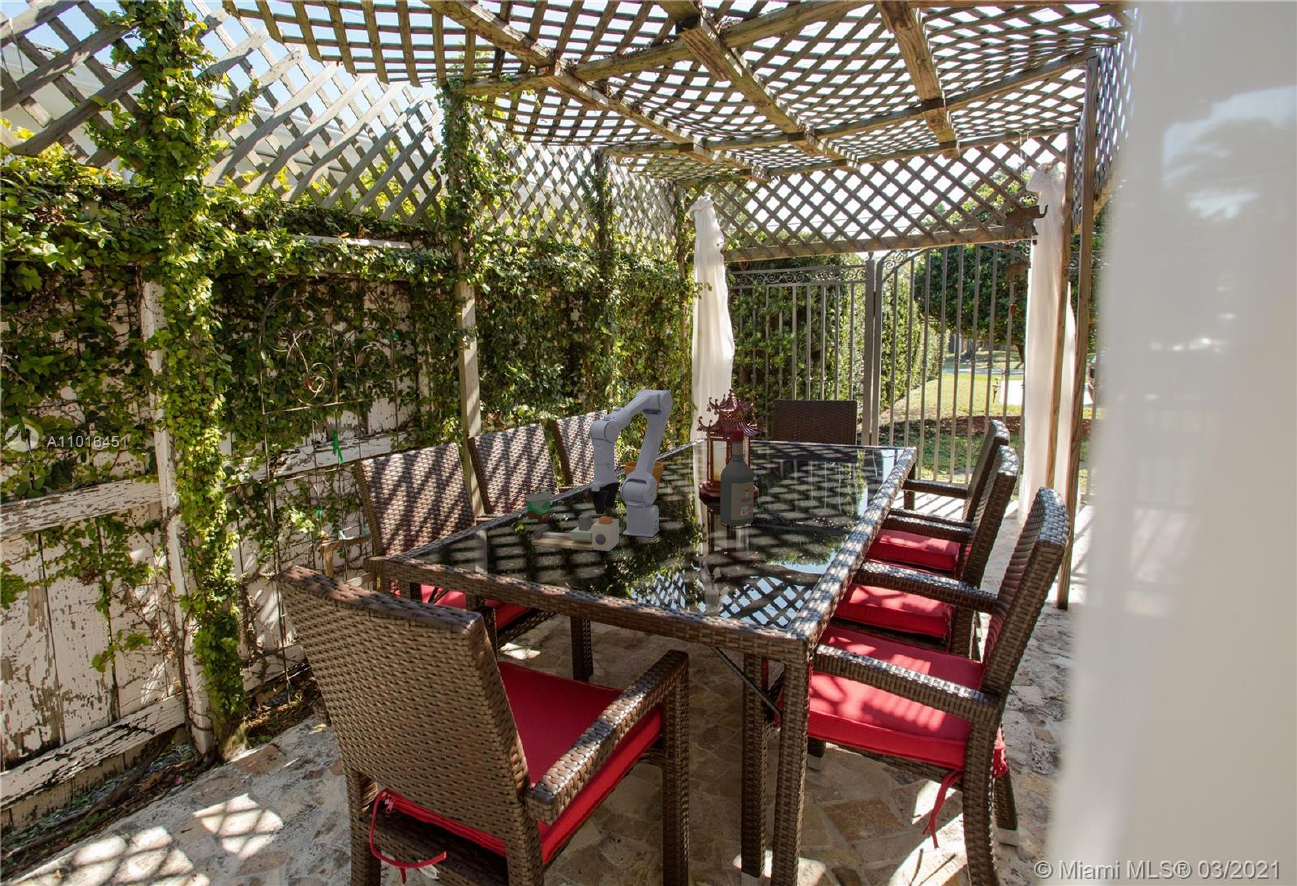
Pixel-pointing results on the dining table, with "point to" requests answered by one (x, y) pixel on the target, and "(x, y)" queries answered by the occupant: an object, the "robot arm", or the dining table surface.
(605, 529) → the end cabinet
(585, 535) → the carriage
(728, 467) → the liquor
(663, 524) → the dining table surface
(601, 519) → the button
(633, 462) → the flower pot
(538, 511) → the food container
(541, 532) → the rail bed
